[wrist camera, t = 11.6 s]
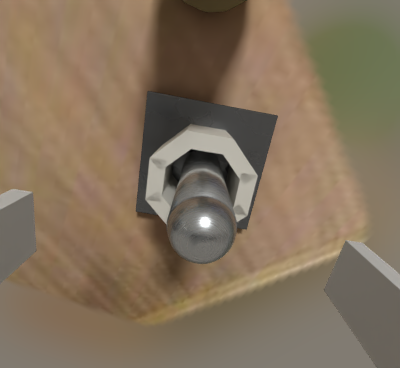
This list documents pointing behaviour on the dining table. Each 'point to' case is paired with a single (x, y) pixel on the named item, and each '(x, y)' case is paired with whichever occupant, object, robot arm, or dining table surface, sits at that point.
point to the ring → (204, 141)
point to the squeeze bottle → (213, 4)
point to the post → (202, 172)
